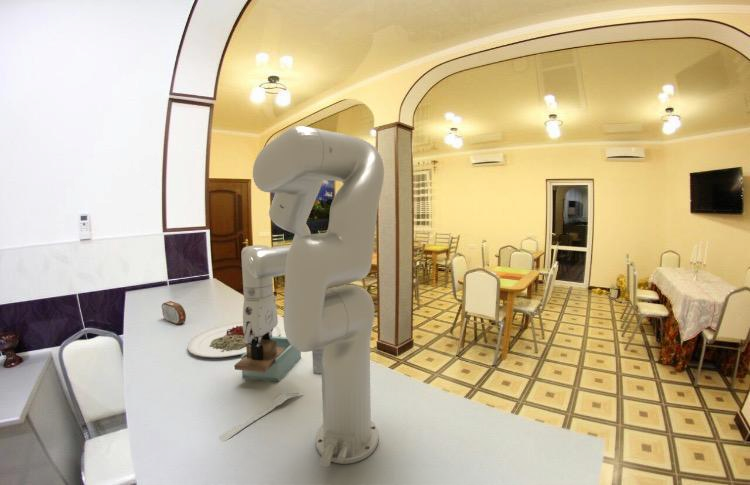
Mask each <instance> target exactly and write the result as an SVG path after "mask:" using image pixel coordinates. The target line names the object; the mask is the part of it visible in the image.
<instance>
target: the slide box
mask: <svg viewBox="0 0 750 485" xmlns="http://www.w3.org/2000/svg"><path fill="white" fill-rule="evenodd" d="M271 340H276V347H284V348H287V349H285V350H284V351H283V352H282V353H281V354H280V355H279V356H278V357H277V358H276V359H275V363H274V364H273V365H272V366H271V367H270V368H269V369H268V370H267V371H266V372H265V373H262V372H253V371H244V370H241V377H242V379H247V380H248V379H249V380H256V381H257V380H258V381H265V382H266V381H267V382H275V383H279V382H280V381H281V380H282V379H283V378H284V377H285V376H286V375H287V374H288V372H289V371H291V369H292V368H293V367H294V366H295V365H296V364H297V363H298V362H299V361H300V360H301V358H302V354H301V353H302V352H301V351H298V350H296V349H294V348H293V347H292V346H291V345H290V343H289V342H288V340H287V337H286V336H278V337H277V336H272V338H271ZM246 356H247V352H246V353H244V354H241V355H240V360H242V359H243V358H244V357H246Z"/></svg>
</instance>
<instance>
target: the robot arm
mask: <svg viewBox="0 0 750 485" xmlns="http://www.w3.org/2000/svg"><path fill="white" fill-rule="evenodd" d="M384 168H385V167H384V162H383V158H382V157H381V154H380V153H379V151H378V149H376V147H375V146H374V145H373V144H371V143H370V142H368V141H367V140H364V139H362V138H360V137H356V136H353V135H350V134H345V133H341V132H337V131H330V130H325V129H320V128H315V127H310V126H303V125H298V126H297V125H296V126H294V127H290V128H288V129H287V130H285V131H284V132H282V133H281V134H280V135H279V136H277V137H275V138H274V139H273V140H271V141H270V142H269V143H268V144H266V145H265V146H264V147H263V148H262V149H261V150H260V151H259V152H258V154H257V155H256V157H255V160H254V163H253V166H252V179H253V182H254V185H255V186H256V188H257V189H258V190H260V191H261V192H264V193H274V196H273V199H272V200H271V204H270V207H269V211H268V216H269V218H270V220H271V222H272V223H273V224H275V225H276V226H277V227H279V228H281V229H282V230H284V231H287V232H289V233H292V234H294V236H293V239H292V240H291V243H290V244H289V245H279V246H278V245H277V246H267V245H263V244H262V245H259V244H257V245H248V246H244V247H243V248H242V250H241V256H240V257H241V272H242V286H243V287H242V289H243V290H242V291H243V292H242V293H243V299H244V300H243V307H242V322H243V331H244V335H245V337H244V341H243V342H244V343H248V344H249V346H251V358H252V360H263V346H261V339H265V340H271V338H272V330H273V328H275V327H276V326H277V327H278V322H279V321H278V320H279V319H278V309H277V302H276V296H275V294H274V285H273V284H274V282H273V278H276V277H280V276H285V277H284V296H283V297H284V298H283V328H284V333H285V337H287V340H288V342H289V343H290V345H291V346H292V347H293V348H294V349H296V350H298V351H301V353H302V352H303V353H307V352H308V353H309V352H312V351H313V350H316V349H319V348H322V347H324V348H323V352H322V359H321V368H322V369H321V370H322V373H321V395H322V396H321V398H322V402H321V403H322V425H320V427H319V428H318V431H316V436H315V447H316V449H317V453H318V454H319V455H320V456H321V457H320V458H319V463H320V465H321V466H322V467H325V468H326V467H329V466H330V465H331V462H333V463H335V464H341V465H342V464H343V465H344V464H345V465H347V464H353V463H354V464H355V463H358V462H360V461H362V460H364V459H366V458H368V457H369V456H370V455H372V453H373V452H374V451H375V450H376V448H377V446H378V445H379V437H380V436H379V430H378V427H377V425H376V424H375V423H374V421H373V420H372V419H371V418H372V417H371V407H372V406H371V340H372V331H373V327H374V321H375V314H376V313H375V312H376V311H375V303H374V301H373V300H374V299H373V297H372V296H371V293H369V291H367V290H366V289H365V287H364V288H363V287H362V286H360V285H357V284H356V285H355V284H351V283H354V282H358V281H361V280H363V279H364V278H365V277H367V276H368V274H369V273H370V272H371V268H372V264H373V255H374V248H375V247H374V246H375V238H376V229H377V228H376V226H377V216H378V208H379V204H380V199H381V196H382V195H381V194H382V189H383V185H384V178H385V177H384V176H385V169H384ZM324 181H335V182H337V181H338V182H341V183H343V184H342V185H341V186H340V187H339V189H338V190H337V192H336V193H335V195H334V197H333V199H332V201H331V204H330V207H329V219H328V220H329V221H328V227H327V231H326V232H320V233H311V230H310V227H309V226H308V224H307V221H308V219H309V216H310V214H311V211H312V209H313V207H314V204H315V202H316V200H317V197H318V194H319V193H320V191H321V188H322V185H323V183H324ZM253 333H254V334H253ZM254 337H256V338H257V341H256V340H255V339H254ZM261 337H262V338H261Z"/></svg>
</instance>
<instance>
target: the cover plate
mask: <svg viewBox="0 0 750 485" xmlns="http://www.w3.org/2000/svg"><path fill="white" fill-rule="evenodd" d="M255 340H256V341H257V339H255ZM261 346H263V360H252V358H251V346H249V344H248V343H247V344H246V350H247V356H246V357H244V358H243V359H242V360H241V359H240V360H239V361H238V362H237V363H235V364H233V365H234V370H237V371H238V370H239V371H242V370H244V371H253V372H262V373H265V372H266V371H267V370H268V369H269V368H270V367H271V366H272V365H273V364H274V363H275V359H276V358H277V357H278V356H279V355H280V354H281V353H282V352H283V351H284V350H285V349H287V348H284V347H276V340H265V339H261Z"/></svg>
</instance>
